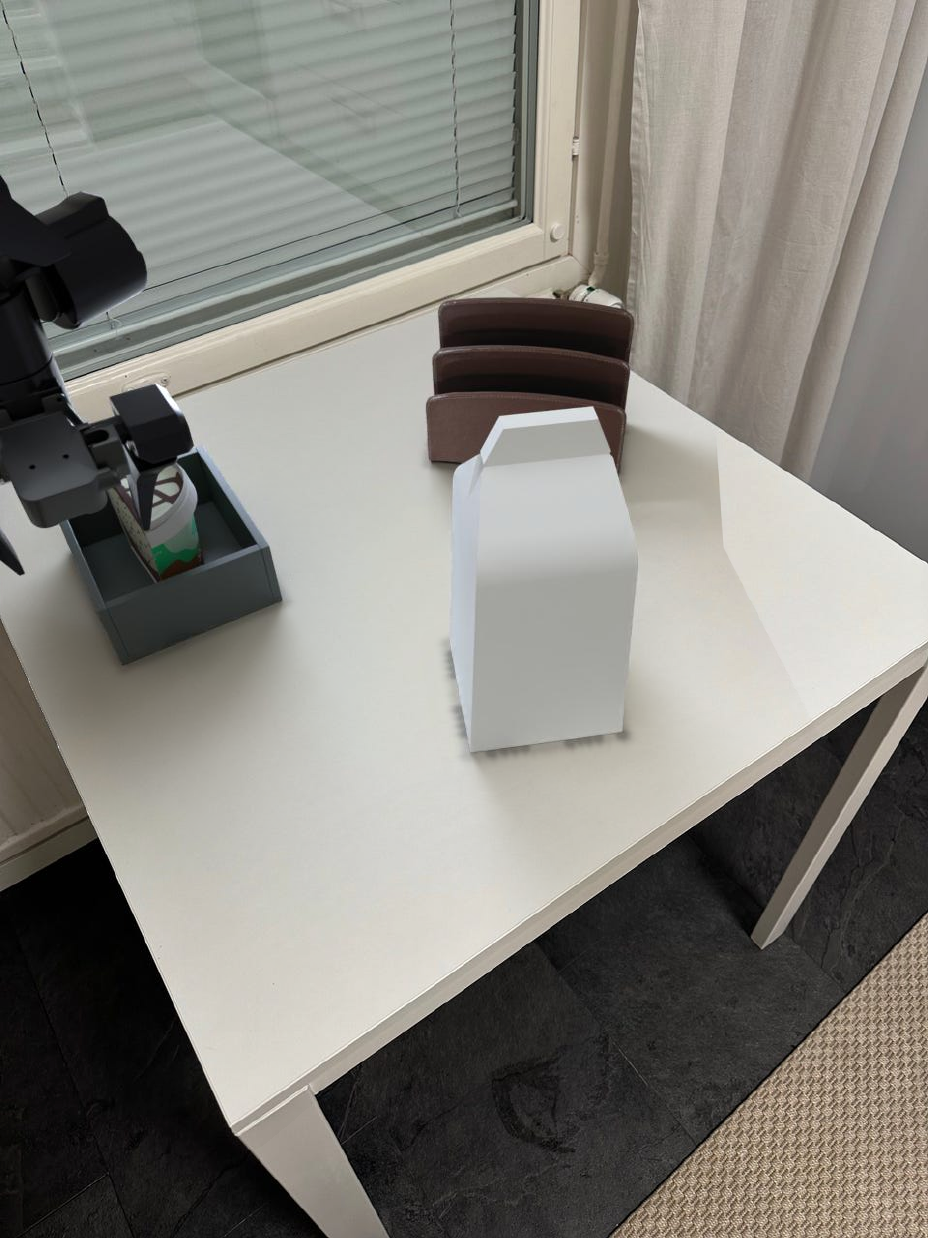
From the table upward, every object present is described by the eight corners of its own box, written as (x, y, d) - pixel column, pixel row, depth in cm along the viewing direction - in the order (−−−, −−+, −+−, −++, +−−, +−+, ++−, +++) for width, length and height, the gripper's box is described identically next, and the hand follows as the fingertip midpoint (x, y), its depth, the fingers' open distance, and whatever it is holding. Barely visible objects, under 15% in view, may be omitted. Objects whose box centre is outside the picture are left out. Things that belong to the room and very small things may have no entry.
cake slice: (240, 585, 80) (215, 499, 73) (177, 615, 78) (144, 529, 71) (185, 513, 87) (157, 428, 80) (124, 539, 85) (90, 453, 78)
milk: (470, 752, 69) (464, 488, 49) (449, 641, 76) (437, 375, 57) (621, 732, 70) (674, 465, 50) (586, 624, 77) (620, 357, 58)
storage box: (122, 665, 75) (96, 612, 70) (72, 550, 85) (47, 497, 80) (282, 600, 80) (269, 545, 75) (218, 498, 90) (203, 444, 85)
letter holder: (442, 407, 100) (437, 288, 89) (621, 420, 97) (638, 298, 87) (427, 462, 93) (420, 340, 83) (619, 477, 91) (636, 353, 80)
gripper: (-147, 479, 47) (-26, 670, 58) (193, 378, 53) (243, 567, 65) (-168, 382, 54) (-55, 570, 65) (138, 302, 60) (191, 486, 71)
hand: (85, 549), depth 66 cm, fingers open, 9 cm apart
